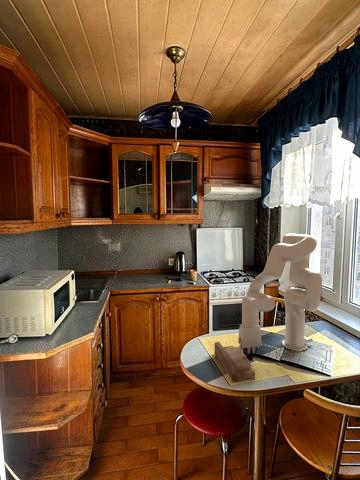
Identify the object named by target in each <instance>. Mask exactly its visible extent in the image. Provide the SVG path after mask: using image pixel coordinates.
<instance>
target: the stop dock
mask: <svg viewBox="0 0 360 480" xmlns="http://www.w3.org/2000/svg"><path fill="white" fill-rule="evenodd" d="M231 347H235V346H234V345H230V346H223V345H222V343H221V342H220V341H217V342H214V355H215V356H216V358H217V359H218V361H219V363H220V364H221V366H222V367H223V369H224V370H225V372H226V374H227V375H228V377H229V378H230V380H231V381H232V383H239V382H245V381H246V382H247V381H251V380H255V379H256V372H255V371H254V369H251V370H249V371H242V372H239V368H238V366H237V365H236V364H235V362H234V361H233V360H232V358H231V357H230V356H229V354H228V353H227V352H226V350H225V348H231Z"/></svg>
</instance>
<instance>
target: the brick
mask: <svg viewBox="0 0 360 480" xmlns="http://www.w3.org/2000/svg"><path fill="white" fill-rule="evenodd" d="M225 350H226V352H227V353H228V354H229V356H230V357H231V358H232V360H233V361H234V362H235V364H236V365H237V366H238V368H239V372H242V371H249V370H252V364H251V361H249V360H248V359H247V358H246V355H245V353H244V350H240V348H239V346H234V347H231V348H225Z"/></svg>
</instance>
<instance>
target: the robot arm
mask: <svg viewBox="0 0 360 480" xmlns="http://www.w3.org/2000/svg"><path fill="white" fill-rule="evenodd" d="M317 245H318V241H317V239H316V237H315V236H314V235H309V234H300V233H299V234H297V233H287V234H285V235H283V237H282V243H275V244H274V245H273V246H272V247H271V250H270V252H269V255H268V258H267V261H266V262H265V266H264V268H263V271H262V272H260V273H259V274H258V275H257V276H255V278H253V280H252V281H251V283H250V284H249V287H248V290H247V291H246V295H245V296H244V297H243V296H242V300H241V304H242V305H241V324H239V329H238V337H237V338H238V344H239V345H238V347H239V348H240V350H242V351H245V354H246V355H245V357H246V358H247V360H248V361H249V362H254V358H255V357H254V355H255V354H254V353H255V352H256V351H257V349H259V348H261V347H262V331H261V326H260V323H262V320H261V318H260V319H259V313H262V312H266V313H267V312H271V311H272V310H273V309H274V308H275V307H276V301H275V299H274V297H272V296H271V295H267V294H265V293H262V292H261V289H262V288H263V286H264V285H266V284H267V283H268V282H272V281H275V280H279V279H280V278H281V277H282V276H283V272H284V269H285V267H286V265H287V262H288V263H290V264H289V274H288V281H289V282H290V284H292V285H293V286H294V287H293V286H290V287H287V288H286V289H285V291H284V293H283V300H284V305H285V306H284V308H285V323H284V324H285V325H284V326H285V327H284V329H285V330H284V332H285V333H284V339H283V340H282V341H281V345H282V347H284V346H285V347H286V348H285V347H284V348H285V349H287V348H288V349H287V350H289V349H291V350H290V351H292V350H296V351H295V352H304V351H303V350H305V351H306V349H307V350H308V343H311V342H313V341H314V340H313V338H312V337H309V338H308V336H306V335H305V333H306V313H305V311H307V312H315V311H316V310H318V309H319V307H320V304H321V297H322V296H321V295H322V285H323V277H322V275H321V274H320V272H319V271H317V270H314V269H311V268H310V269H309V255H310V254H312V253H313V252H314V251H315V250H316V248H317ZM295 286H297V287H295ZM299 287H301V288H299ZM302 288H303V289H302ZM304 288H306V289H304Z"/></svg>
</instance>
